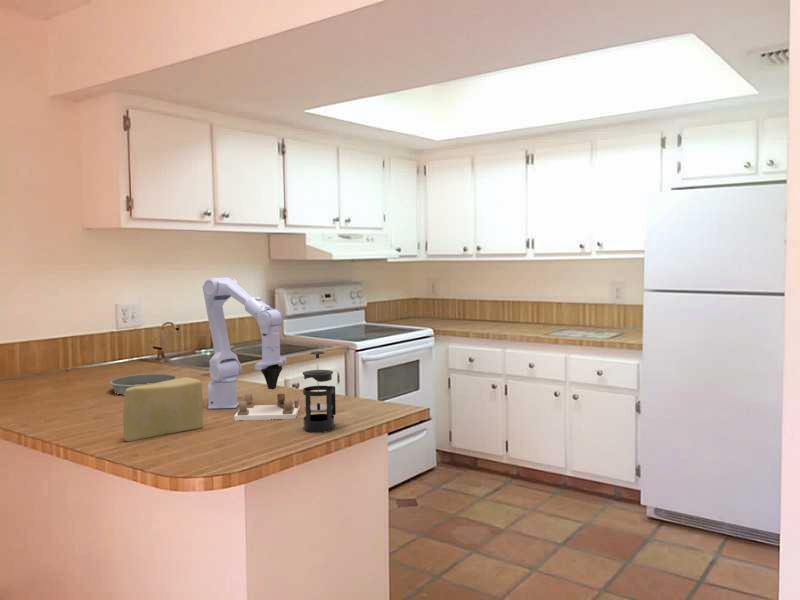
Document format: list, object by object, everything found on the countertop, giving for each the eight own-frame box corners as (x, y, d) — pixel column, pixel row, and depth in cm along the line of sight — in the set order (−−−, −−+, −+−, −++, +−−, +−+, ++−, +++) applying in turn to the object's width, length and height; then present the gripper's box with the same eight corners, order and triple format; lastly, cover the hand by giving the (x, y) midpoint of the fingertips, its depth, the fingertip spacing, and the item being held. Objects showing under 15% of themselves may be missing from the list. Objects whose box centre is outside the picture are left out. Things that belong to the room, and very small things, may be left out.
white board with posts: (234, 420, 206) (233, 403, 206) (242, 410, 220) (241, 393, 219) (295, 419, 207) (295, 401, 207) (299, 408, 221) (299, 392, 220)
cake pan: (164, 397, 243) (163, 384, 243) (98, 397, 244) (97, 385, 243) (186, 383, 268) (186, 372, 267) (126, 384, 268) (126, 373, 268)
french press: (317, 435, 188) (315, 355, 187) (294, 430, 194) (292, 352, 193) (345, 426, 198) (344, 350, 196) (322, 421, 203) (321, 347, 202)
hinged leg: (294, 409, 212) (294, 397, 212) (287, 411, 211) (287, 398, 211) (283, 405, 219) (282, 393, 219) (276, 406, 218) (276, 394, 218)
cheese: (133, 445, 181) (131, 391, 180) (117, 438, 187) (114, 386, 186) (204, 428, 198) (203, 379, 196) (187, 423, 204) (185, 375, 203)
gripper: (267, 350, 204) (268, 394, 205) (294, 344, 217) (294, 385, 218) (249, 349, 207) (250, 392, 208) (276, 343, 220) (277, 383, 221)
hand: (271, 388), depth 213 cm, fingers closed
